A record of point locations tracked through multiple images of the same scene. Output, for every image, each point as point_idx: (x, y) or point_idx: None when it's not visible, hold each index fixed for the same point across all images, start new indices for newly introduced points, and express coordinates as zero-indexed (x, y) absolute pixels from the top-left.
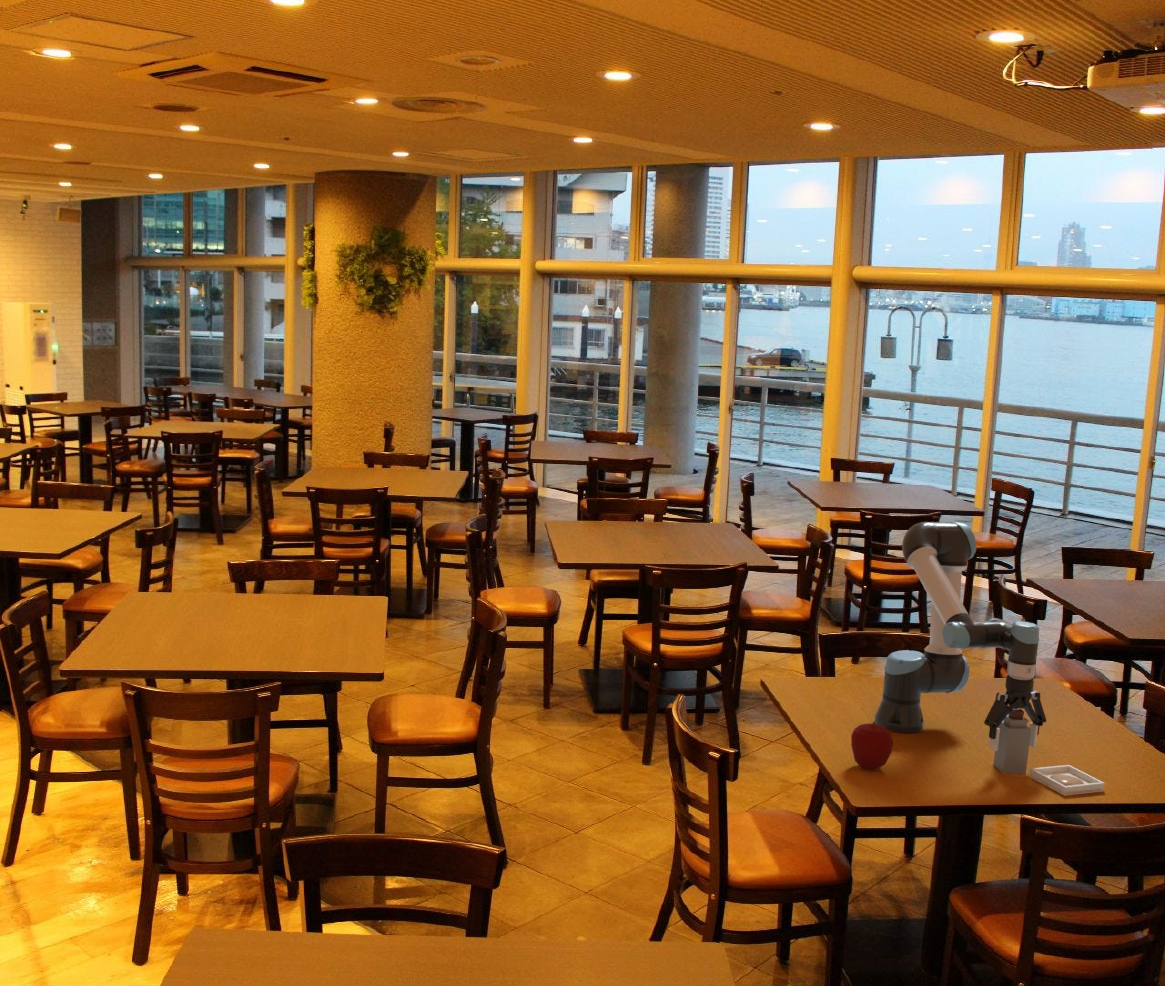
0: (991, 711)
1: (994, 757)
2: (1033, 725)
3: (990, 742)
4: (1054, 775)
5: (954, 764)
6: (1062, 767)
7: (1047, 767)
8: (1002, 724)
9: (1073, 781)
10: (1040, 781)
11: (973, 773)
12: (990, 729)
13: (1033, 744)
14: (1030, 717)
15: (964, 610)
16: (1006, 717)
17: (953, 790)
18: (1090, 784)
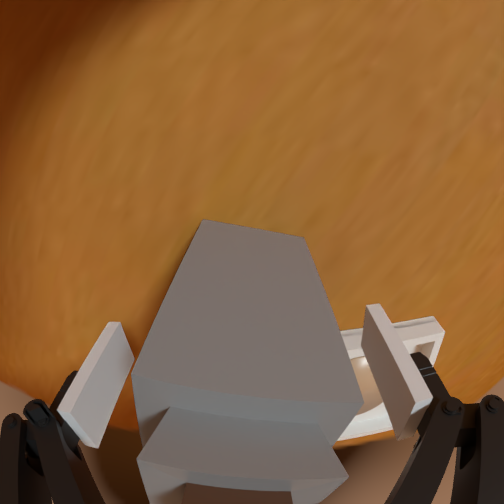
0: (7, 495)
1: (196, 233)
2: (403, 423)
3: (98, 345)
4: (353, 363)
5: (53, 201)
6: (411, 344)
7: (355, 353)
8: (140, 421)
9: (367, 395)
10: None
11: (87, 285)
12: (54, 411)
13: (365, 353)
14: (414, 457)
15: None
16: (147, 487)
17: (26, 358)
18: (365, 435)
